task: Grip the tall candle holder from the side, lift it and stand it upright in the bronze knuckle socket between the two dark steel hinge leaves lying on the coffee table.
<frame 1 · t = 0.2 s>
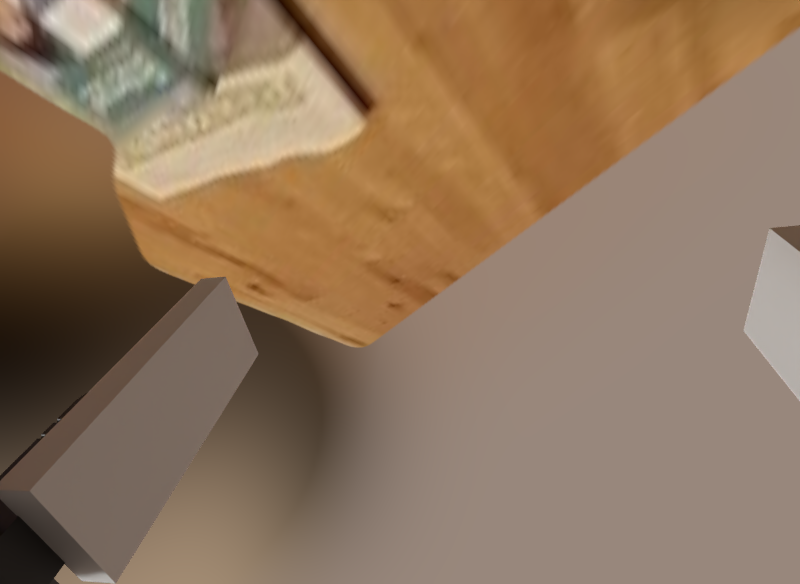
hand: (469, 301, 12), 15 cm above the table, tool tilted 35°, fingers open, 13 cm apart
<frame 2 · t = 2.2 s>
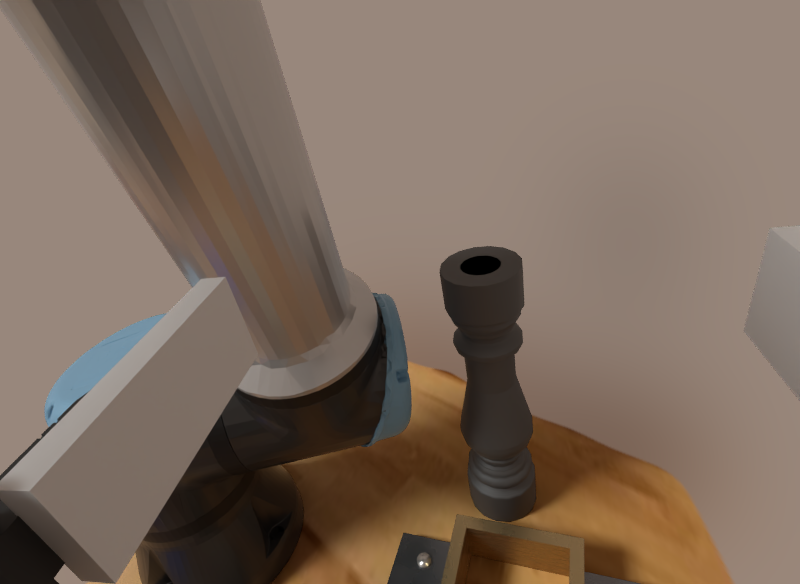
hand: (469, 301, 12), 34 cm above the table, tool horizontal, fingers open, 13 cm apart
candle holder: (503, 492, 44), on the table
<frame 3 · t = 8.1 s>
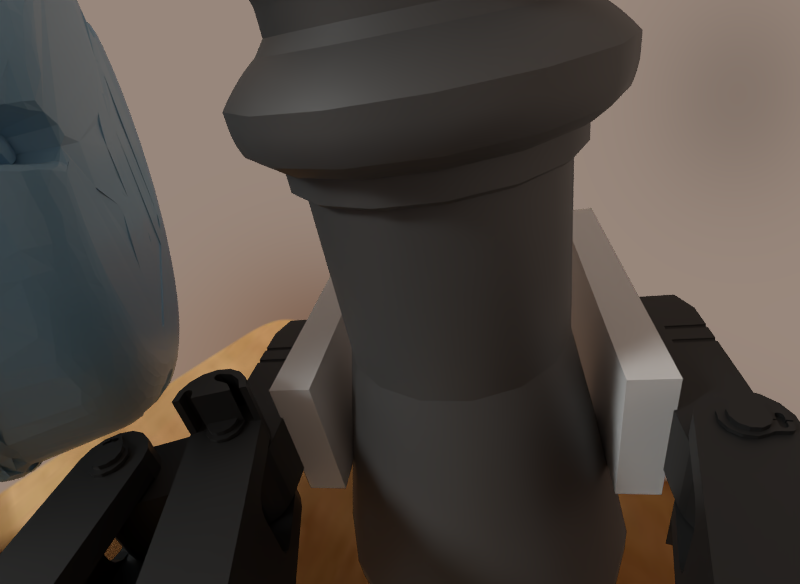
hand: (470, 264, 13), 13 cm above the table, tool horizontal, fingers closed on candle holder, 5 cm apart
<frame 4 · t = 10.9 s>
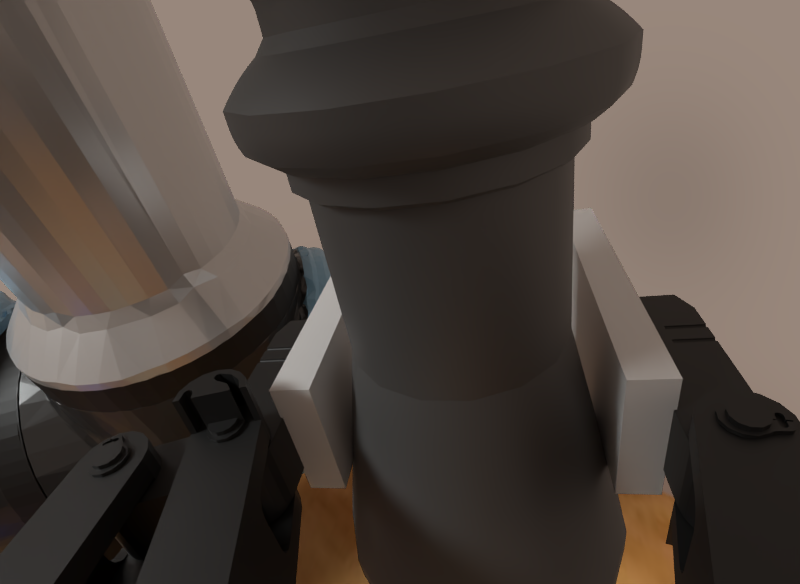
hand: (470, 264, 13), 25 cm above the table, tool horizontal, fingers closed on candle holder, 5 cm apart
when the fingers open (14 cm above the table, at t = 13.8 s): candle holder drops 1 cm, resting in hinge knuckle.
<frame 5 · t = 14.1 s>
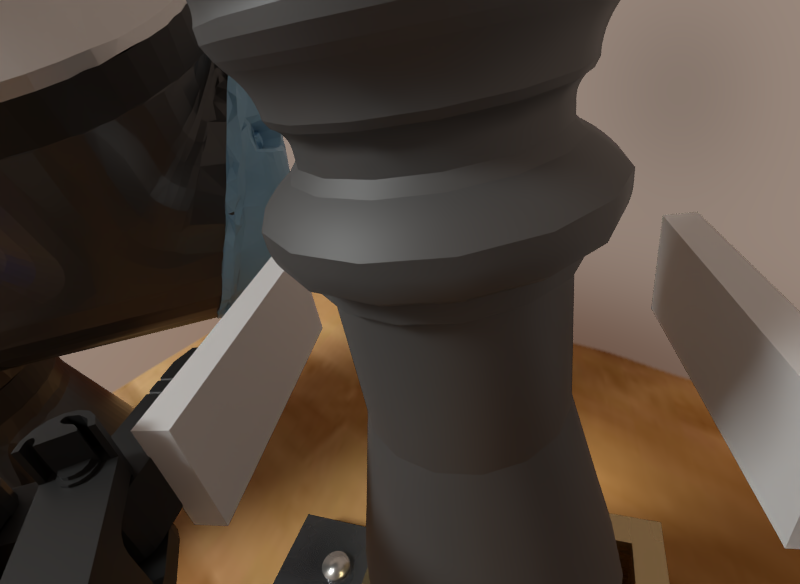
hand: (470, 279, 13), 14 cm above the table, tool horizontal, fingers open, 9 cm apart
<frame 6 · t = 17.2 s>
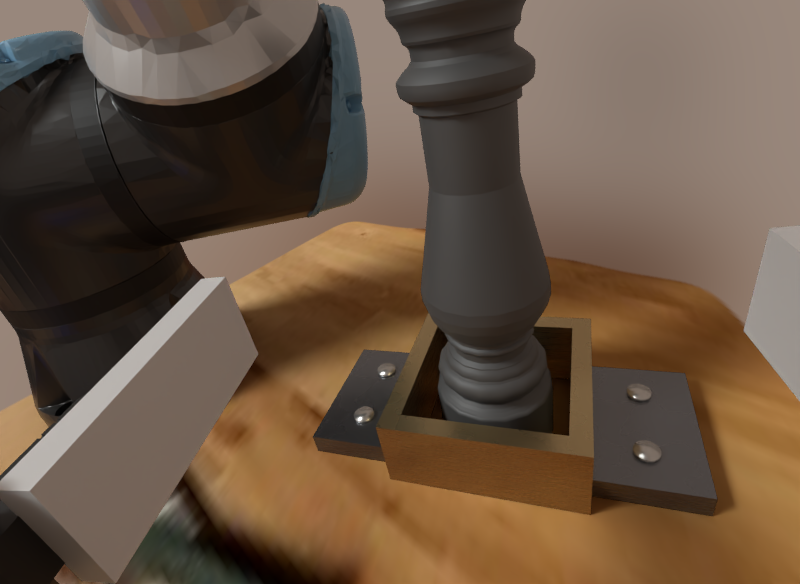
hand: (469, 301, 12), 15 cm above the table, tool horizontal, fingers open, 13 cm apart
hinge knuckle: (497, 420, 27), on the table
candle holder: (497, 423, 27), resting in hinge knuckle
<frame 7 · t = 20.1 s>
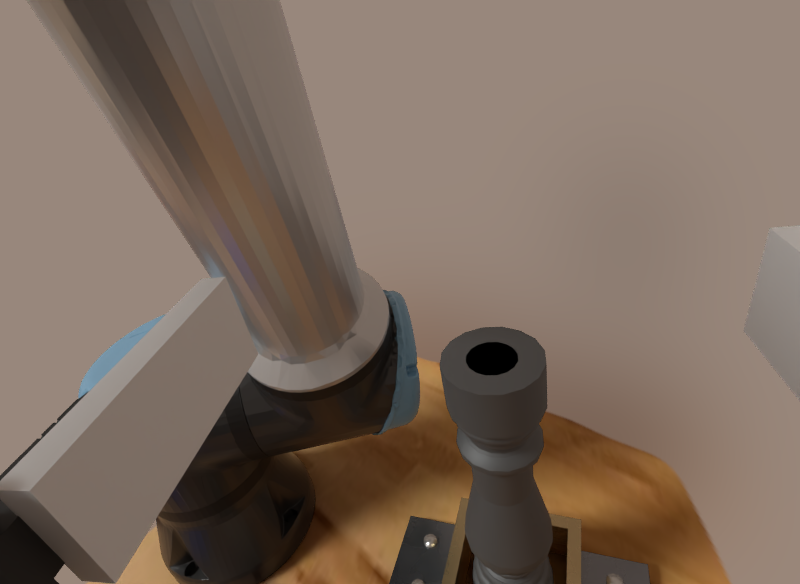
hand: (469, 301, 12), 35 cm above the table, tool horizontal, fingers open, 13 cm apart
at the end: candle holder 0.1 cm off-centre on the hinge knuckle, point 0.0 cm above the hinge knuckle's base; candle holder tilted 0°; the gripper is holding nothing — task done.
